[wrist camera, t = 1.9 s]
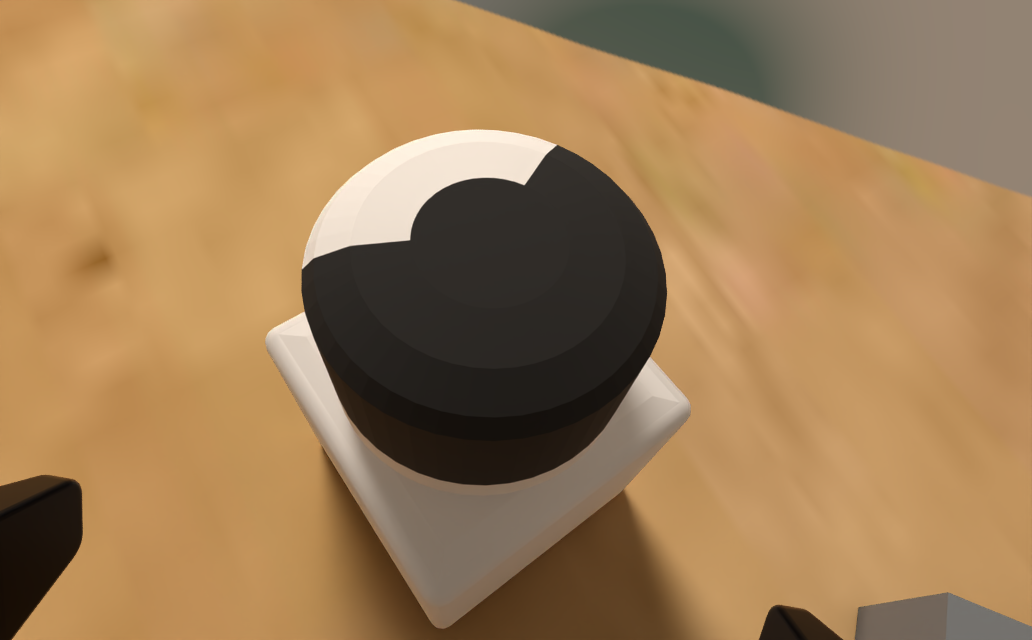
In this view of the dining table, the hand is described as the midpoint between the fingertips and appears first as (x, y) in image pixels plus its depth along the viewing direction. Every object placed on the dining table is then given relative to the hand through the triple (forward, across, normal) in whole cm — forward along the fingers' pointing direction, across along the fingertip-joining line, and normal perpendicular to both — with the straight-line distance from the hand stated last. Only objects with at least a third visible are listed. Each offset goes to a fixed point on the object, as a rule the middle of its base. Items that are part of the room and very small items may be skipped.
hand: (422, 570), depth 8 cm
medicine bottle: (+12, 0, +5) cm, 12 cm away
